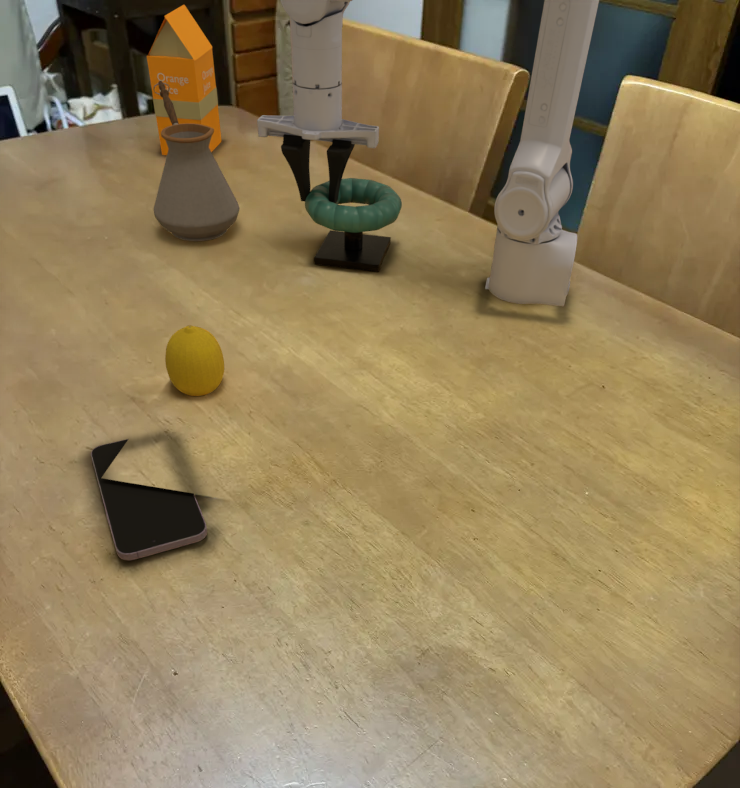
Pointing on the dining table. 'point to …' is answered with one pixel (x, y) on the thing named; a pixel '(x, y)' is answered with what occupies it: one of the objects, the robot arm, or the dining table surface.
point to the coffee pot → (192, 182)
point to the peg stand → (353, 251)
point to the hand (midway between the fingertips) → (319, 200)
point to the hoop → (350, 218)
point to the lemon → (194, 361)
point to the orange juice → (184, 75)
